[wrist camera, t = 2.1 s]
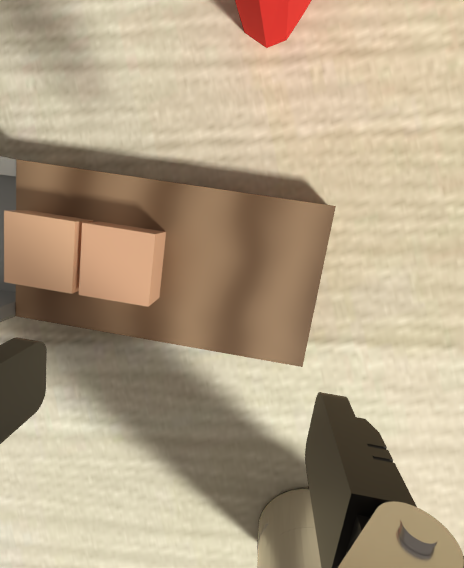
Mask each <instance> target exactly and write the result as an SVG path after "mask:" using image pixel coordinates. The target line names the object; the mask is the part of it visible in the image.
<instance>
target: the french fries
mask: <svg viewBox="0 0 464 568" xmlns="http://www.w3.org/2000/svg"><path fill="white" fill-rule="evenodd" d="M235 2H236V5H237V9H238V12H239V15H240V19H241V22H242V26H243V29H244V32H245V33H246V34H248V35H249V36H250V37H252V38H253V39H255V40H256V41H257V42H259V43H260V44H262V45H263V46H265V47H266V48H268V47H270V46H273V45H275V44H278V43H280V42H283V41H285V40H287V38H288V37H289V35H290V34H291V32H292V31H293V29H294V28H295V26H296V25H297V23H298V22H299V20H300V18H301V17H302V15H303V14H304V12H305V10H306V9H307V7H308V5H309V4H310V2H311V0H235Z"/></svg>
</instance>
